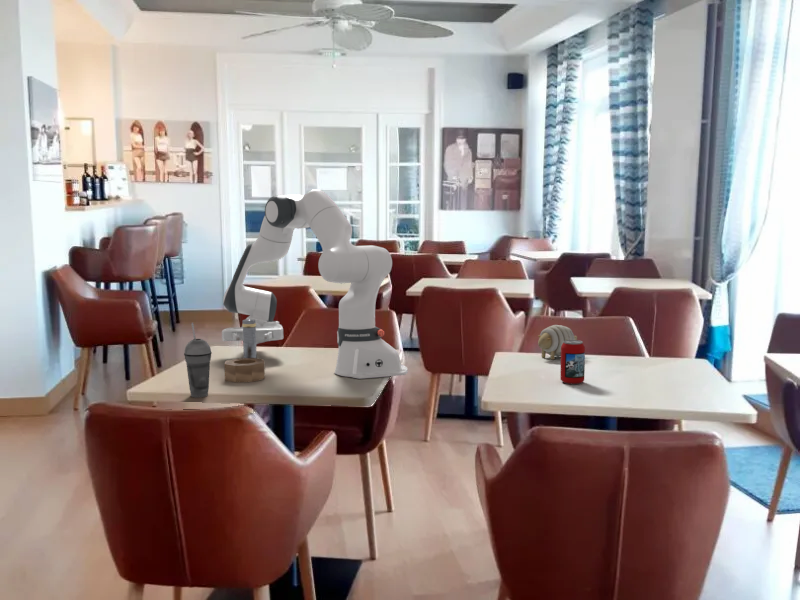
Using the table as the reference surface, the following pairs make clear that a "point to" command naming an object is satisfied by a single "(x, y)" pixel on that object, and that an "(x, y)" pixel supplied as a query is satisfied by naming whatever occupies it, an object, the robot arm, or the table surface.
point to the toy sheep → (554, 339)
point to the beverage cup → (198, 366)
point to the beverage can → (572, 362)
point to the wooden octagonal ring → (244, 370)
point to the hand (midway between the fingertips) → (251, 337)
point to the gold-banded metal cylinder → (249, 338)
